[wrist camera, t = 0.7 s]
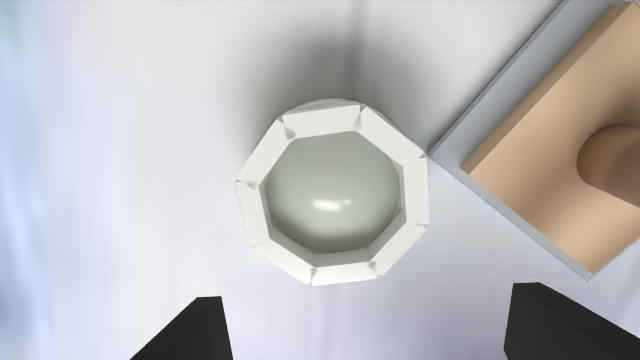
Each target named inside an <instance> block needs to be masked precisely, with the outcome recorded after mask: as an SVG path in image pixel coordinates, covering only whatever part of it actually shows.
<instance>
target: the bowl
mask: <svg viewBox="0 0 640 360" xmlns="http://www.w3.org/2000/svg"><path fill="white" fill-rule="evenodd" d="M423 153H424V151H423V150H421V149H420V148H419V147H418V146H417V145H416V144H414V143H413V142H412V141H411V140H409V139H408V138H407V137H406V136H405V135H404V134H403V133H402V132H401V131H400V130H399V129H398V128H397V127H396V126H395V125H394V124H393V123H392V122H391V121H389V120H388V119H387V118H386V117H385V116H384V115H382V114H381V113H379V112H378V111H377V110H375V109H373V108H371V107H369V106H367V105H365V104H364V103H359V102H357V101H352V100H347V99H339V98H327V99H318V100H314V101H309V102H307V103H304V104H301V105H298V106H297V107H295V108H293V109H291V110H289V111H285V112H284V114H283V115H282V116H281V115H279V116H278V117H277V119H276V120H275V121H274V123H273V124H272V125H271V126H270V128H269V129H268V130H267V131H266V132H265V134H264V135H263V136H262V137H261V139H260V140H259V141H258V143H257V144H256V146H255V148H254V149H253V151H252V153H251V156H250V157H249V158H248V160H247V161H246V163H245V164H244V165H243V167H242V168H241V170H240V171H239V173H238V174H237V175H236V177H235V178H237V180H236V181H235V183H234V185H235V189H236V193H237V197H238V202H239V206H240V210H241V214H242V218H243V222H244V226H245V231H246V235H247V239H248V243H249V246H254V248H253V251H254V252H255V253H257V254H259V255H260V256H262V257H263V258H265V259H267V260H268V261H270V262H271V263H273V264H275V265H276V266H278V267H279V268H281V269H282V270H284V271H286V272H287V273H289V274H290V275H292V276H294V277H295V278H297V279H298V280H300V281H301V282H303V283H305V284H306V285H307V284H308V283H309V282H310V281H311V280H312V286H319V285H328V284H337V283H346V282H354V281H363V280H372V279H377V273H378V274H380V275H381V276H383V275H384V274H385V273H386V272H387V271H388V270H389V269H390V268H391V267H392V266H393V265H394V264H395V263H396V262H397V261H398V260H399V259H400V258H401V257H402V256H403V255H404V254H405V252H406V251H407V250H408V249H409V248H410V247H411V246H412V245H413V244H414V243H415V242H416V241H417V240H418V239H419V238H420V237H421V236H422V235H423V234H424V233H425V232H426V231H427V228H426V226H425V225H428V224H430V219H429V193H428V167H427V157H426V156H425V155H424V154H423Z"/></svg>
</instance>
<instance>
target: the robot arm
mask: <svg viewBox="0 0 640 360" xmlns="http://www.w3.org/2000/svg"><path fill="white" fill-rule="evenodd" d="M504 351H505V354H506V356H507V358H508V360H640V338H638V337H636V336H635V335H633V334H631V333H629V332H627V331H626V330H624V329H622V328H620V327H619V326H617V325H615V324H613V323H612V322H610V321H608V320H606V319H605V318H603V317H601V316H599V315H598V314H596V313H594V312H592V311H591V310H589V309H587V308H585V307H584V306H582V305H580V304H578V303H577V302H575V301H573V300H571V299H570V298H568V297H566V296H564V295H562V294H561V293H559V292H557V291H555V290H553V289H551V288H549V287H547V286H545V285H543V284H541V283H539V282H535V283H513V289H512V296H511V303H510V309H509V316H508V323H507V329H506V336H505V342H504ZM130 360H233V356H232V351H231V345H230V340H229V335H228V330H227V324H226V319H225V314H224V309H223V303H222V298H221V296H216V297H197V298H196V299H195V300H194V301H193V302H191V303H190V304H189V305H188V306H187V307H186V308H185V309H184V310H183V311H182V312H180V313H179V314H178V315H177V316H176V317H175V318H174V319H173V320H172V321H171V322H170V323H169V324H168V325H167V326H166V327H165V328H163V329H162V330H161V331H160V332H159V333H158V334H157V335H156V336H155V337H154V338H153V339H152V340H151V341H149V342H148V343H147V344H146V345H145V346H144V347H143V348H142V349H141V350H140V351H139V352H138V353H136V354H135V355H134V356H133V357H132V358H131V359H130Z"/></svg>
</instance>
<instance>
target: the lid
mask: <svg viewBox="0 0 640 360" xmlns="http://www.w3.org/2000/svg"><path fill="white" fill-rule="evenodd" d="M459 168H460V169H462V170H463V171H464V172H465V173H467V174H468V175H469V176H470V177H472V178H473V179H474V180H475V181H477V182H478V183H479V184H480V185H482V186H483V187H484V188H485V189H487V190H488V191H489V192H490V193H492V194H493V195H494V196H495V197H497V198H498V199H499V200H500V201H502V202H503V203H504V204H505V205H507V206H508V207H509V208H510V209H512V210H513V211H514V212H515V213H517V214H518V215H519V216H520V217H522V218H523V219H524V220H525V221H527V222H528V223H529V224H530V225H532V226H533V227H534V228H535V229H537V230H538V231H539V232H540V233H542V234H543V235H544V236H545V237H547V238H548V239H549V240H550V241H552V242H553V243H554V244H555V245H557V246H558V247H559V248H560V249H562V250H563V251H564V252H565V253H567V254H568V255H569V256H570V257H572V258H573V259H574V260H575V261H577V262H578V263H579V264H581V265H582V266H583V267H584V268H586V269H587V270H588V271H589V272H591V273H592V274H593V275H594V274H595V273H596V272H597V271H598V270H600V269H601V268H602V267H603V266H604V265H606V264H607V263H608V262H609V261H611V260H612V259H613V258H614V257H615V256H617V255H618V254H619V253H620V252H621V251H623V250H624V249H625V248H626V247H628V246H629V245H630V244H631V243H632V242H634V241H635V240H636V239H637V238H638V237H640V8H639V6H638V5H637V4H636V3H635V2H634V1H633V2H628V3H623V4H618V5H613V6H609V7H608V8H607V9H606V10H605V11H604V12H603V13H602V15H601V16H600V17H599V18H598V19H597V20H596V21H595V22H594V23H593V24H592V25H591V26H590V27H589V28H588V30H587V31H586V32H585V33H584V34H583V35H582V36H581V37H580V38H579V39H578V40H577V41H576V42H575V43H574V45H573V46H572V47H571V48H570V49H569V50H568V51H567V52H566V53H565V54H564V55H563V56H562V57H561V58H560V60H559V61H558V62H557V63H556V64H555V65H554V66H553V67H552V68H551V69H550V70H549V71H548V72H547V73H546V74H545V76H544V77H543V78H542V79H541V80H540V81H539V82H538V83H537V84H536V85H535V86H534V87H533V88H532V89H531V91H530V92H529V93H528V94H527V95H526V96H525V97H524V98H523V99H522V100H521V101H520V102H519V103H518V104H517V106H516V107H515V108H514V109H513V110H512V111H511V112H510V113H509V114H508V115H507V116H506V117H505V118H504V119H503V121H502V122H501V123H500V124H499V125H498V126H497V127H496V128H495V129H494V130H493V131H492V132H491V133H490V134H489V136H488V137H487V138H486V139H485V140H484V141H483V142H482V143H481V144H480V145H479V146H478V147H477V148H476V149H475V151H474V152H473V153H472V154H471V155H470V156H469V157H468V158H467V159H466V160H465V161H464V162H463V163H462V164H461V166H460V167H459Z"/></svg>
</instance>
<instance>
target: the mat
mask: <svg viewBox="0 0 640 360" xmlns="http://www.w3.org/2000/svg"><path fill="white" fill-rule="evenodd" d="M623 3H626V2H625V1H624V0H563V1H562V2H561V3H560V4H559V5H558V6H557V8H556V9H555V10H554V11H553V12H552V13H551V14H550V15H549V17H548V18H547V19H546V20H545V21H544V22H543V23H542V24H541V26H540V27H539V28H538V29H537V30H536V31H535V32H534V34H533V35H532V36H531V37H530V38H529V39H528V40H527V41H526V43H525V44H524V45H523V46H522V47H521V48H520V49H519V50H518V52H517V53H516V54H515V55H514V56H513V57H512V58H511V59H510V61H509V62H508V63H507V64H506V65H505V66H504V67H503V68H502V70H501V71H500V72H499V73H498V74H497V75H496V76H495V77H494V79H493V80H492V81H491V82H490V83H489V84H488V85H487V86H486V88H485V89H484V90H483V91H482V92H481V93H480V94H479V96H478V97H477V98H476V99H475V100H474V101H473V102H472V103H471V105H470V106H469V107H468V108H467V109H466V110H465V111H464V112H463V114H462V115H461V116H460V117H459V118H458V119H457V120H456V121H455V123H454V124H453V125H452V126H451V127H450V128H449V129H448V130H447V132H446V133H445V134H444V135H443V136H442V137H441V138H440V139H439V141H438V142H437V143H436V144H435V145H434V146H433V147H432V149H431V150H430V151H429V152H428V153H427V154H426V155H428V156H429V157H430V158H431V159H432V160H434V161H435V162H436V163H437V164H439V165H440V166H441V167H442V168H444V169H445V170H446V171H448V172H449V173H450V174H451V175H453V176H454V177H455V178H456V179H458V180H459V181H460V182H461V183H463V184H464V185H465V186H467V187H468V188H469V189H470V190H472V191H473V192H474V193H475V194H477V195H478V196H479V197H480V198H482V199H483V200H484V201H486V202H487V203H488V204H489V205H491V206H492V207H493V208H494V209H496V210H497V211H498V212H499V213H501V214H502V215H503V216H505V217H506V218H507V219H508V220H510V221H511V222H512V223H513V224H515V225H516V226H517V227H519V228H520V229H521V230H522V231H524V232H525V233H526V234H527V235H529V236H530V237H531V238H532V239H534V240H535V241H536V242H538V243H539V244H540V245H541V246H543V247H544V248H545V249H546V250H548V251H549V252H550V253H551V254H553V255H554V256H555V257H557V258H558V259H559V260H560V261H562V262H563V263H564V264H565V265H567V266H568V267H569V268H570V269H572V270H573V271H574V272H576V273H577V274H578V275H579V276H581V277H582V278H583V279H584V280H586V281H589V280H590V279H591V278H592V277H593V276H595V275H596V274H597V273H598V272H600V271H601V270H602V269H603V268H604V267H606V266H607V265H608V264H609V263H610V262H612V261H613V260H614V259H615V258H617V257H618V256H619V255H620V254H621V253H623V252H624V251H625V250H626V249H627V248H629V247H630V246H631V245H632V244H634V243H635V242H636V241H637V240H638V239H640V237H638V238H637V239H636V240H635V241H634V242H632V243H631V244H630V245H629V246H628V247H626V248H625V249H624V250H623V251H621V252H620V253H619V254H618V255H617V256H615V257H614V258H613V259H612V260H611V261H609V262H608V263H607V264H606V265H604V266H603V267H602V268H601V269H600V270H598V271H597V272H596V273H595V274H594V275H593V274H592V273H591V272H589V271H588V270H587V269H586V268H584V267H583V266H582V265H581V264H579V263H578V262H577V261H575V260H574V259H573V258H572V257H570V256H569V255H568V254H567V253H565V252H564V251H563V250H562V249H560V248H559V247H558V246H557V245H555V244H554V243H553V242H552V241H550V240H549V239H548V238H547V237H545V236H544V235H543V234H542V233H540V232H539V231H538V230H537V229H535V228H534V227H533V226H532V225H530V224H529V223H528V222H527V221H525V220H524V219H523V218H522V217H520V216H519V215H518V214H517V213H515V212H514V211H513V210H512V209H510V208H509V207H508V206H507V205H505V204H504V203H503V202H502V201H500V200H499V199H498V198H497V197H495V196H494V195H493V194H492V193H490V192H489V191H488V190H487V189H485V188H484V187H483V186H482V185H480V184H479V183H478V182H477V181H475V180H474V179H473V178H472V177H470V176H469V175H468V174H467V173H465V172H464V171H463V170H462V169H460V168H459V167H460V166H461V164H462V163H463V162H464V161H465V160H466V159H467V158H468V157H469V156H470V155H471V154H472V153H473V152H474V151H475V149H476V148H477V147H478V146H479V145H480V144H481V143H482V142H483V141H484V140H485V139H486V138H487V137H488V136H489V134H490V133H491V132H492V131H493V130H494V129H495V128H496V127H497V126H498V125H499V124H500V123H501V122H502V121H503V119H504V118H505V117H506V116H507V115H508V114H509V113H510V112H511V111H512V110H513V109H514V108H515V107H516V106H517V104H518V103H519V102H520V101H521V100H522V99H523V98H524V97H525V96H526V95H527V94H528V93H529V92H530V91H531V89H532V88H533V87H534V86H535V85H536V84H537V83H538V82H539V81H540V80H541V79H542V78H543V77H544V76H545V74H546V73H547V72H548V71H549V70H550V69H551V68H552V67H553V66H554V65H555V64H556V63H557V62H558V61H559V60H560V58H561V57H562V56H563V55H564V54H565V53H566V52H567V51H568V50H569V49H570V48H571V47H572V46H573V45H574V43H575V42H576V41H577V40H578V39H579V38H580V37H581V36H582V35H583V34H584V33H585V32H586V31H587V30H588V28H589V27H590V26H591V25H592V24H593V23H594V22H595V21H596V20H597V19H598V18H599V17H600V16H601V15H602V13H603V12H604V11H605V10H606V9H607V8H608V7H609V6H613V5H618V4H623Z"/></svg>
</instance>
